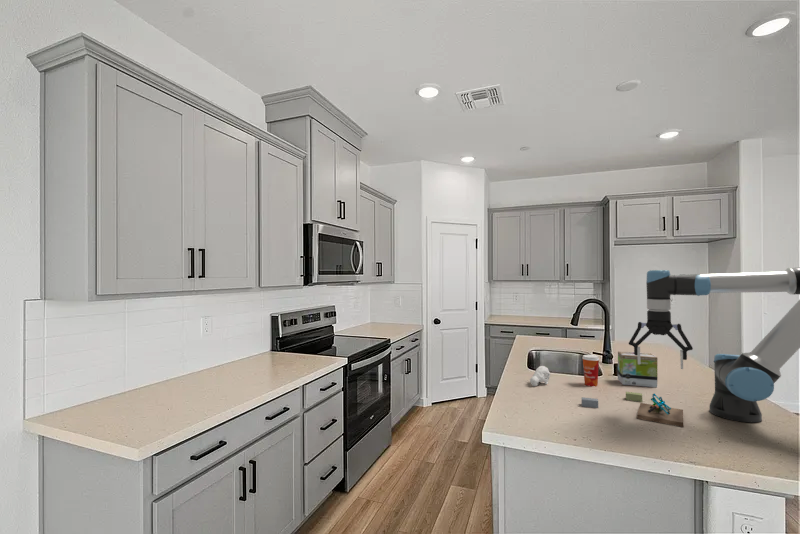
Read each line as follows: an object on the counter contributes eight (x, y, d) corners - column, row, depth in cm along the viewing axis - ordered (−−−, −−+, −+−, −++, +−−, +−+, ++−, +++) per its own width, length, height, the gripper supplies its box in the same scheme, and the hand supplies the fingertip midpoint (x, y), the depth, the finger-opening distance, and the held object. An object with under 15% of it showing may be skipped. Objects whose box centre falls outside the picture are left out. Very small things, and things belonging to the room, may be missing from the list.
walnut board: (683, 413, 150) (683, 409, 150) (683, 427, 137) (683, 422, 137) (640, 406, 158) (640, 402, 158) (637, 418, 145) (637, 414, 145)
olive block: (641, 400, 166) (641, 393, 166) (642, 402, 164) (642, 395, 164) (625, 398, 169) (625, 391, 169) (625, 400, 167) (625, 393, 167)
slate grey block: (597, 406, 160) (597, 398, 160) (598, 408, 157) (598, 401, 157) (581, 404, 162) (581, 397, 162) (581, 406, 159) (581, 399, 159)
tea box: (622, 385, 188) (622, 354, 188) (617, 380, 198) (617, 350, 198) (658, 388, 184) (657, 356, 184) (651, 382, 193) (650, 352, 194)
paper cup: (578, 383, 191) (578, 355, 191) (589, 382, 194) (589, 353, 194) (592, 388, 184) (592, 358, 184) (603, 386, 187) (603, 356, 187)
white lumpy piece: (550, 366, 191) (536, 372, 184) (552, 383, 191) (537, 390, 184) (539, 363, 196) (525, 369, 189) (540, 380, 196) (526, 387, 189)
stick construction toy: (676, 411, 142) (660, 392, 145) (660, 422, 142) (644, 402, 145) (664, 410, 153) (649, 392, 156) (649, 419, 153) (635, 401, 156)
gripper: (699, 311, 145) (700, 368, 144) (622, 308, 159) (623, 360, 159) (700, 312, 138) (701, 372, 138) (620, 309, 153) (621, 363, 152)
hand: (659, 366), depth 148 cm, fingers open, 13 cm apart
